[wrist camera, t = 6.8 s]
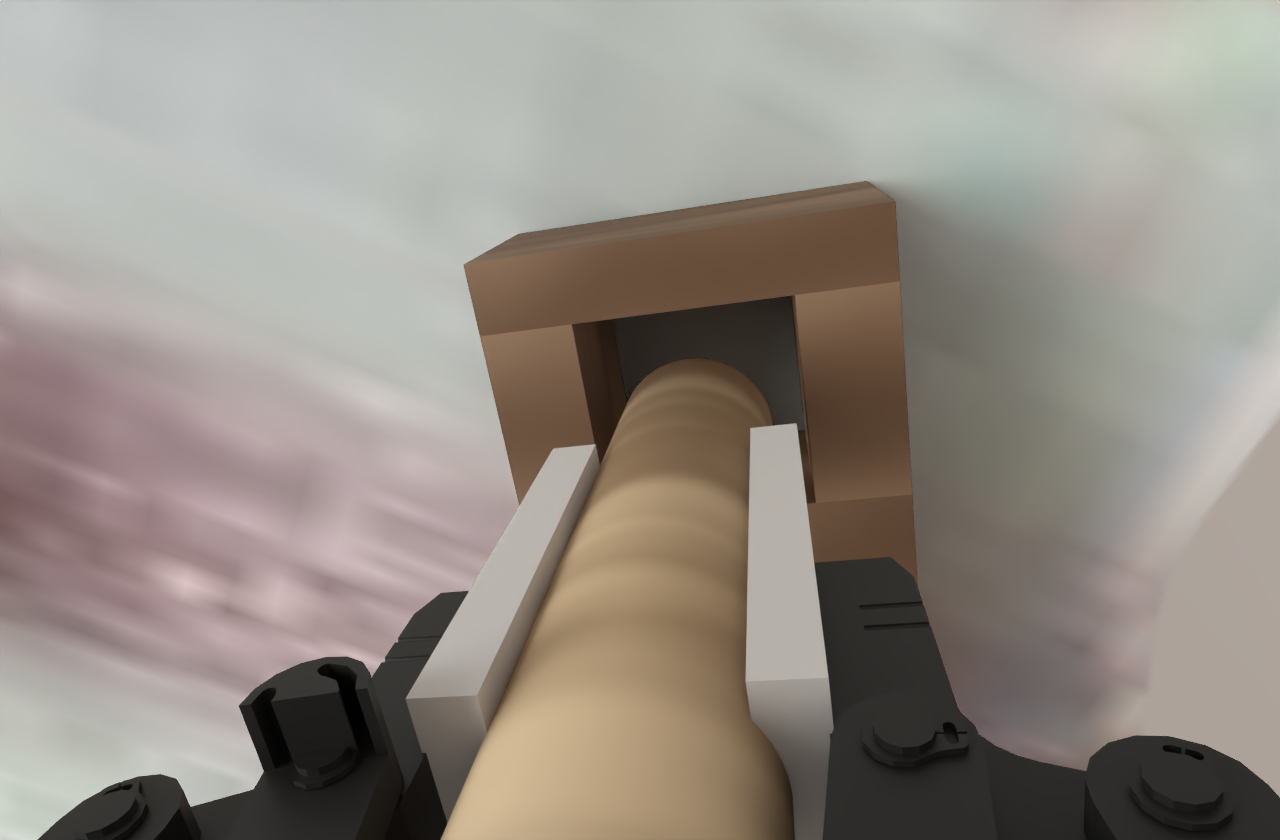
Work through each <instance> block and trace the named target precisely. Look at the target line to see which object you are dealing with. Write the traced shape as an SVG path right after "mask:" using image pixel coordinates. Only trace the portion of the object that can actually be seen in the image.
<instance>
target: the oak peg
mask: <svg viewBox="0 0 1280 840" xmlns="http://www.w3.org/2000/svg"><path fill="white" fill-rule="evenodd" d="M766 426H773V423H772V417H771V412H770V409H769V407H768V404H767V402H766V400H765V398H764V396H763V394H762V393H761V391H760V390H759V389H758V387H757V386H756V385H755V384H754V383H753V382H752V381H751V380H750V379H749V378H748V377H747V376H746V375H744V374H743V373H742V372H740V371H738V370H737V369H735V368H733V367H731V366H729V365H727V364H724V363H721V362H718V361H715V360H709V359H700V358H692V359H683V360H678V361H674V362H671V363H668V364H665V365H663V366H661V367H659V368H657V369H656V370H654V371H653V372H651V373H650V374H648V375H647V376H646V377H645V378H644V379H643V380H642V381H641V382H640V383H639V384H638V385H637V387H636V388H635V389H634V391H633V393H632V394H631V396H630V398H629V400H628V402H627V405H626V407H625V409H624V412H623V414H622V416H621V419H620V421H619V423H618V426H617V428H616V430H615V433H614V435H613V437H612V440H611V442H610V444H609V447H608V449H607V451H606V454H605V456H604V458H603V461H602V463H601V465H600V468H599V471H598V473H597V475H596V478H595V480H594V483H593V485H592V487H591V490H590V492H589V494H588V497H587V499H586V501H585V504H584V506H583V508H582V511H581V513H580V515H579V518H578V520H577V522H576V525H575V527H574V529H573V532H572V534H571V536H570V539H569V541H568V543H567V546H566V548H565V550H564V553H563V555H562V557H561V560H560V562H559V565H558V567H557V569H556V572H555V574H554V576H553V579H552V581H551V583H550V586H549V588H548V590H547V593H546V595H545V597H544V600H543V602H542V604H541V607H540V609H539V611H538V614H537V616H536V618H535V621H534V623H533V625H532V628H531V630H530V632H529V635H528V637H527V639H526V642H525V644H524V647H523V649H522V651H521V654H520V656H519V658H518V661H517V663H516V665H515V668H514V670H513V672H512V675H511V677H510V679H509V682H508V684H507V686H506V689H505V691H504V693H503V696H502V698H501V700H500V703H499V705H498V707H497V710H496V712H495V714H494V717H493V719H492V721H491V724H490V726H489V729H488V731H487V733H486V735H485V737H484V739H483V741H482V744H481V746H480V748H479V751H478V753H477V755H476V758H475V760H474V762H473V765H472V767H471V769H470V772H469V774H468V776H467V779H466V781H465V783H464V786H463V788H462V790H461V793H460V795H459V797H458V800H457V802H456V804H455V807H454V809H453V812H452V814H451V816H450V819H449V821H448V823H447V826H446V828H445V830H444V833H443V835H442V837H441V840H795V831H794V812H793V795H792V790H791V786H790V781H789V777H788V775H787V772H786V770H785V767H784V765H783V762H782V760H781V758H780V756H779V755H778V753H777V751H776V750H775V748H774V746H773V744H772V743H771V742H770V741H769V739H768V738H767V737H766V736H765V734H764V733H763V732H762V730H761V729H760V728H759V727H758V726H757V725H756V724H755V723H754V722H753V721H752V720H751V716H750V709H749V702H748V695H747V688H746V633H747V581H748V529H749V477H750V428H756V427H766Z"/></svg>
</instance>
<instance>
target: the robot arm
mask: <svg viewBox="0 0 1280 840" xmlns="http://www.w3.org/2000/svg"><path fill="white" fill-rule="evenodd" d="M599 468H600V464H599V459H598V454H597V449H596V444H592V445H583V446H573V447H563V448H554V449H553V450H552V451H551V453H550V455H549V456H548V458H547V460H546V462H545V463H544V465H543V467H542V468H541V470H540V472H539V473H538V475H537V477H536V478H535V480H534V482H533V484H532V485H531V487H530V489H529V490H528V492H527V494H526V495H525V497H524V499H523V501H522V502H521V504H520V506H519V507H518V509H517V511H516V512H515V514H514V516H513V517H512V519H511V521H510V523H509V524H508V526H507V528H506V529H505V531H504V533H503V534H502V536H501V538H500V539H499V541H498V543H497V545H496V546H495V548H494V550H493V551H492V553H491V555H490V556H489V558H488V560H487V562H486V563H485V565H484V567H483V568H482V570H481V572H480V573H479V575H478V577H477V578H476V580H475V582H474V584H473V585H472V587H471V589H470V590H469V591H462V592H448V593H441V594H439V595H438V596H437V597H436V598H434V599H433V600H432V601H430V602H429V603H428V604H427V605H425V606H424V607H423V608H422V609H420V610H419V611H418V612H416V613H415V614H414V615H413V617H412V618H411V620H410V621H409V623H408V624H407V626H406V627H405V629H404V630H403V632H402V633H401V635H400V636H399V638H398V643H395V644H394V645H393V647H392V648H391V650H390V651H389V653H388V654H387V656H386V657H385V662H384V663H381V664H380V666H379V667H378V669H377V670H376V672H375V673H374V675H373V676H372V678H371V675H370V672H369V671H368V669H367V668H366V666H365V665H364V663H363V662H361V661H358V660H355V659H352V658H350V657H325V658H321V659H317V660H312V661H308V662H304V663H301V664H299V665H296V666H294V667H292V668H290V669H287V670H285V671H283V672H281V673H278V674H276V675H275V676H273V677H272V678H270V679H269V680H267V681H266V682H264V683H263V684H261V685H260V686H258V687H257V688H256V689H254V690H253V691H252V692H251V693H250V695H249V696H248V697H247V698H246V699H245V700H244V701H243V702H242V703H241V704H240V705H239V708H240V710H241V713H242V715H243V718H244V721H245V723H246V726H247V728H248V731H249V733H250V736H251V739H252V741H253V744H254V746H255V749H256V751H257V754H258V757H259V759H260V762H261V764H262V767H263V769H264V773H263V774H262V776H261V778H260V780H259V781H258V783H257V785H256V786H255V788H254V789H253V790H250V791H247V792H243V793H240V794H236V795H232V796H229V797H225V798H222V799H218V800H214V801H211V802H207V803H204V804H200V805H196V806H193V807H190V805H189V803H188V801H187V798H186V796H185V794H184V792H183V790H182V788H181V786H180V784H179V783H178V781H177V779H175V778H171V777H168V776H165V775H161V774H159V775H149V776H140V777H136V778H133V779H130V780H126V781H123V782H121V783H120V782H119V783H117V784H114V785H111V786H109V787H107V788H105V789H103V790H102V791H101V792H99V793H97V794H95V795H94V796H92V797H90V798H88V799H86V800H84V801H83V802H82V803H80V804H79V805H78V806H76V807H75V808H74V809H73V810H71V811H70V812H69V813H67V814H66V815H65V816H63V817H62V818H61V819H60V820H58V821H57V822H56V823H55V824H54V825H53V826H52V827H51V828H50V829H49V830H48V831H46V832H45V833H44V834H43V835H42V836H41V837H40V838H39V839H38V840H441V837H442V835H443V833H444V830H445V828H446V826H447V823H448V821H449V819H450V816H451V814H452V812H453V809H454V807H455V804H456V802H457V800H458V797H459V795H460V793H461V790H462V788H463V786H464V783H465V781H466V779H467V776H468V774H469V772H470V769H471V767H472V765H473V762H474V760H475V758H476V755H477V753H478V751H479V748H480V746H481V744H482V741H483V739H484V737H485V735H486V733H487V731H488V729H489V726H490V724H491V721H492V719H493V717H494V714H495V712H496V710H497V707H498V705H499V703H500V700H501V698H502V696H503V693H504V691H505V689H506V686H507V684H508V682H509V679H510V677H511V675H512V672H513V670H514V668H515V665H516V663H517V661H518V658H519V656H520V654H521V651H522V649H523V647H524V644H525V642H526V639H527V637H528V635H529V632H530V630H531V628H532V625H533V623H534V621H535V618H536V616H537V614H538V611H539V609H540V607H541V604H542V602H543V600H544V597H545V595H546V593H547V590H548V588H549V586H550V583H551V581H552V579H553V576H554V574H555V572H556V569H557V567H558V565H559V562H560V560H561V557H562V555H563V553H564V550H565V548H566V546H567V543H568V541H569V539H570V536H571V534H572V532H573V529H574V527H575V525H576V522H577V520H578V518H579V515H580V513H581V511H582V508H583V506H584V504H585V501H586V499H587V497H588V494H589V492H590V490H591V487H592V485H593V483H594V480H595V478H596V475H597V473H598V471H599ZM746 688H747V695H748V702H749V709H750V716H751V720H752V721H753V722H754V723H755V724H756V725H757V726H758V727H759V728H760V729H761V730H762V732H763V733H764V734H765V736H766V737H767V738H768V739H769V741H770V742H771V743H772V744H773V746H774V748H775V750H776V751H777V753H778V755H779V756H780V758H781V760H782V762H783V765H784V767H785V770H786V772H787V775H788V777H789V781H790V786H791V790H792V795H793V812H794V831H795V840H1280V798H1279V796H1278V795H1277V794H1276V793H1275V792H1274V791H1273V790H1272V789H1271V788H1270V786H1269V785H1268V784H1266V783H1265V782H1264V781H1263V780H1262V779H1260V778H1259V777H1258V776H1257V775H1255V774H1254V773H1253V772H1252V771H1250V770H1249V769H1248V768H1247V767H1246V766H1244V765H1243V764H1242V763H1241V762H1239V761H1237V760H1235V759H1233V758H1231V757H1229V756H1227V755H1224V754H1222V753H1220V752H1218V751H1216V750H1214V749H1212V748H1210V747H1208V746H1206V745H1202V744H1198V743H1194V742H1190V741H1186V740H1182V739H1178V738H1174V737H1169V736H1132V737H1128V738H1124V739H1121V740H1117V741H1113V742H1110V743H1107V744H1106V745H1105V746H1104V747H1102V748H1101V749H1100V750H1099V751H1098V752H1096V753H1095V754H1094V755H1093V756H1092V757H1090V760H1089V764H1088V768H1087V771H1082V770H1077V769H1072V768H1067V767H1062V766H1057V765H1052V764H1047V763H1042V762H1038V761H1034V760H1031V759H1027V758H1024V757H1020V756H1017V755H1015V754H1012V753H1010V752H1008V751H1006V750H1003V749H1001V748H999V747H997V746H995V745H993V744H992V743H990V742H989V741H988V740H986V739H985V738H983V737H982V736H980V735H979V734H978V732H977V730H976V727H975V725H974V724H973V723H972V722H971V721H969V720H968V719H967V718H966V717H965V716H964V715H963V714H962V713H961V712H960V710H959V709H958V707H957V704H956V701H955V698H954V695H953V692H952V689H951V686H950V683H949V680H948V677H947V674H946V671H945V668H944V665H943V662H942V659H941V656H940V653H939V650H938V647H937V644H936V641H935V638H934V635H933V632H932V629H931V627H930V625H929V620H928V617H927V614H926V611H925V608H924V606H923V604H922V599H921V596H920V593H919V590H918V587H917V584H916V581H915V578H914V576H913V575H911V574H910V573H909V572H908V571H907V570H906V569H904V568H903V567H902V566H901V565H900V564H898V563H897V562H896V561H895V560H894V559H892V558H891V557H883V558H870V559H856V560H843V561H829V562H816V563H814V558H813V550H812V542H811V534H810V526H809V518H808V510H807V502H806V494H805V486H804V478H803V470H802V462H801V454H800V446H799V438H798V430H797V423H794V424H785V425H775V426H766V427H756V428H750V477H749V529H748V581H747V633H746Z"/></svg>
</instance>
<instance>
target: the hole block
mask: <svg viewBox="0 0 1280 840" xmlns="http://www.w3.org/2000/svg"><path fill="white" fill-rule="evenodd" d="M464 269H465V273H466V278H467V282H468V286H469V291H470V295H471V299H472V303H473V308H474V312H475V316H476V321H477V325H478V329H479V334H480V338H481V342H482V347H483V351H484V355H485V359H486V364H487V368H488V372H489V377H490V381H491V385H492V390H493V394H494V398H495V403H496V407H497V411H498V415H499V420H500V424H501V428H502V433H503V437H504V441H505V446H506V450H507V454H508V459H509V463H510V467H511V472H512V476H513V480H514V484H515V489H516V493H517V497H518V502H519V506H520V504H521V502H522V501H523V499H524V497H525V495H526V494H527V492H528V490H529V489H530V487H531V485H532V484H533V482H534V480H535V478H536V477H537V475H538V473H539V472H540V470H541V468H542V467H543V465H544V463H545V462H546V460H547V458H548V456H549V455H550V453H551V451H552V450H553V449H554V448H563V447H573V446H583V445H592V444H596V449H597V454H598V459H599V464H600V465H601V463H602V461H603V458H604V456H605V454H606V451H607V449H608V447H609V444H610V442H611V440H612V437H613V435H614V433H615V430H616V428H617V426H618V423H619V421H620V419H621V416H622V414H623V412H624V409H625V407H626V405H627V401H626V395H625V389H624V384H623V378H622V372H621V367H620V361H619V355H618V350H617V344H616V338H615V333H614V327H613V321H612V319H617V318H624V317H632V316H639V315H647V314H655V313H662V312H670V311H678V310H685V309H693V308H700V307H708V306H716V305H723V304H731V303H739V302H746V301H754V300H762V299H769V298H777V297H784V296H791V300H792V309H793V319H794V329H795V339H796V348H797V358H798V368H799V378H800V387H801V397H802V407H803V417H804V427H805V431H798V438H799V446H800V454H801V462H802V470H803V478H804V486H805V494H806V502H807V510H808V518H809V526H810V534H811V542H812V550H813V558H814V563H816V562H829V561H843V560H856V559H870V558H883V557H891V558H892V559H894V560H895V561H896V562H897V563H898V564H900V565H901V566H902V567H903V568H904V569H906V570H907V571H908V572H909V573H910V574H911V575H913V576H914V578H915V581H916V584H917V568H916V550H915V533H914V516H913V499H912V481H911V464H910V447H909V430H908V412H907V395H906V378H905V361H904V343H903V326H902V309H901V292H900V275H899V257H898V240H897V223H896V206H895V201H894V200H893V199H891V198H890V197H889V196H887V195H886V194H884V193H883V192H881V191H880V190H879V189H877V188H876V187H874V186H873V185H871V184H870V183H869V182H867V181H864V182H858V183H851V184H844V185H838V186H831V187H825V188H818V189H812V190H805V191H798V192H792V193H785V194H779V195H772V196H766V197H759V198H752V199H746V200H739V201H733V202H726V203H720V204H713V205H707V206H700V207H693V208H687V209H680V210H674V211H667V212H661V213H654V214H647V215H641V216H634V217H628V218H621V219H615V220H608V221H601V222H595V223H588V224H582V225H575V226H569V227H562V228H555V229H549V230H542V231H536V232H529V233H523V234H518V235H516V236H514V237H512V238H510V239H509V240H507V241H505V242H503V243H502V244H500V245H498V246H496V247H494V248H493V249H491V250H489V251H487V252H485V253H484V254H482V255H480V256H478V257H477V258H475V259H473V260H471V261H469V262H468V263H466V264H464ZM917 587H918V585H917Z"/></svg>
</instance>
